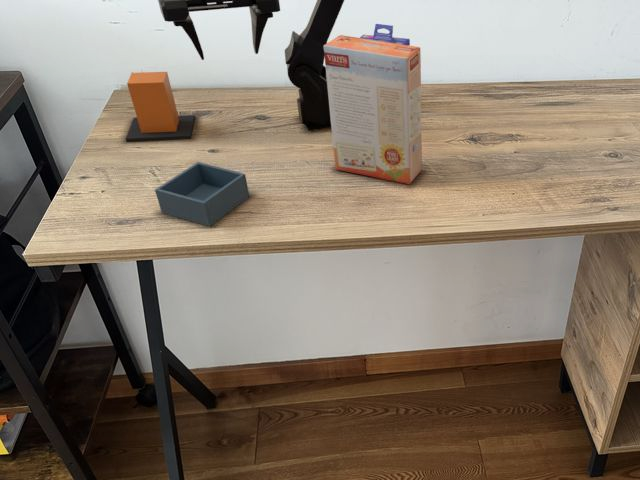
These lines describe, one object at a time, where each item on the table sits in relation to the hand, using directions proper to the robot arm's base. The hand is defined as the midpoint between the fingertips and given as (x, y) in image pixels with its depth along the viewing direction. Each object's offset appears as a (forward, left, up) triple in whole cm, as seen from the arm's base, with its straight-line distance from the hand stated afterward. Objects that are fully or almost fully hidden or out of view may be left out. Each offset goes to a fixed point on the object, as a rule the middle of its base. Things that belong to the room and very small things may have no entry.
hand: (229, 56), depth 119 cm
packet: (+14, -4, -12) cm, 19 cm away
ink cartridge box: (-29, -2, -13) cm, 32 cm away
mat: (+14, -4, -13) cm, 20 cm away
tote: (+11, +26, -13) cm, 31 cm away
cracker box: (-18, +25, -13) cm, 34 cm away
